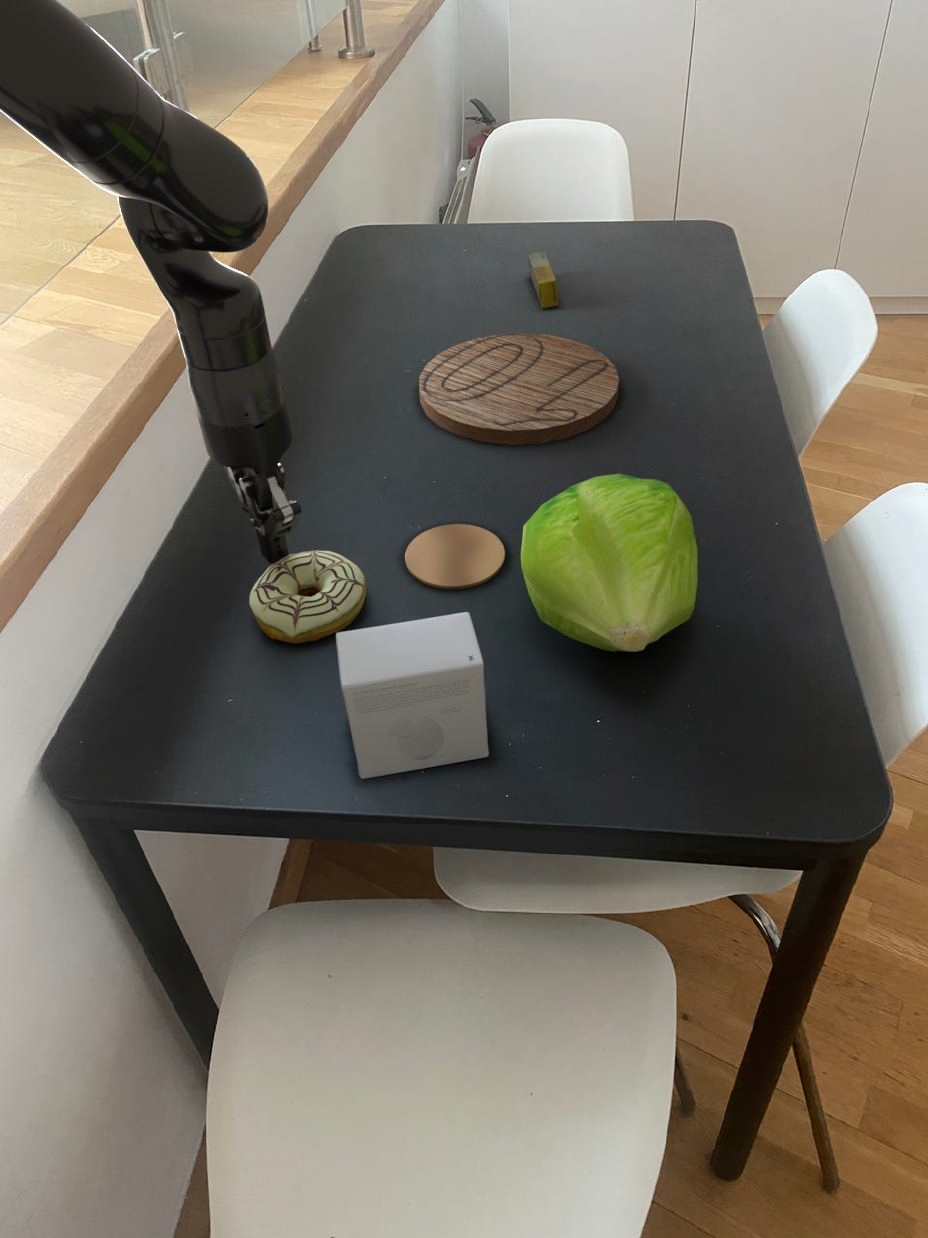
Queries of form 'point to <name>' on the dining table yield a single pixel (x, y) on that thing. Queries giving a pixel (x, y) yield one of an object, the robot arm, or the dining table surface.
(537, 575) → the lettuce
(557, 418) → the trivet
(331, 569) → the decorated donut
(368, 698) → the cosmetics box
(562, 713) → the dining table surface
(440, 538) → the cork coaster
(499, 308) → the dining table surface
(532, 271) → the medication box
